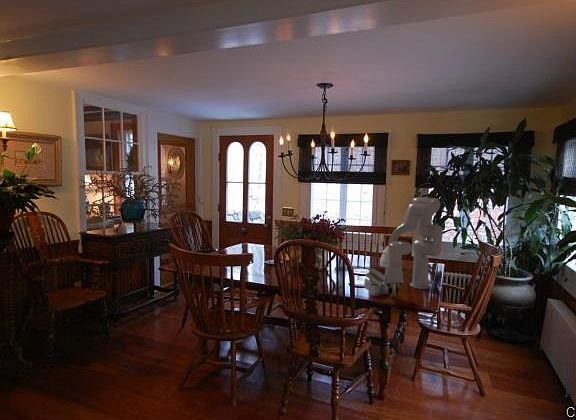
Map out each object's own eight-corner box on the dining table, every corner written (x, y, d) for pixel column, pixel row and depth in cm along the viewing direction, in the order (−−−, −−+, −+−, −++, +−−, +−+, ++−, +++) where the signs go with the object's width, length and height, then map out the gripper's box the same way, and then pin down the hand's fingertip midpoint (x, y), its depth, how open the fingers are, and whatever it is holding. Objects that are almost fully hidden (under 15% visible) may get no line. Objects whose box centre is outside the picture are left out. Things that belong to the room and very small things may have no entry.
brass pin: (393, 295, 226) (394, 279, 225) (396, 297, 223) (397, 281, 222) (389, 295, 225) (390, 279, 224) (391, 297, 222) (392, 281, 221)
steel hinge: (383, 286, 245) (384, 277, 245) (396, 294, 229) (397, 285, 229) (360, 287, 242) (360, 278, 241) (371, 296, 226) (372, 286, 225)
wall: (383, 287, 257) (368, 271, 261) (392, 280, 253) (376, 263, 256) (375, 297, 244) (359, 280, 248) (384, 289, 239) (367, 272, 243)
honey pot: (381, 263, 310) (383, 241, 308) (397, 265, 304) (398, 243, 303) (378, 266, 299) (379, 244, 297) (394, 268, 293) (395, 246, 291)
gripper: (403, 261, 227) (402, 290, 229) (379, 262, 223) (377, 292, 225) (410, 264, 220) (408, 294, 222) (385, 265, 216) (383, 296, 218)
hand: (393, 293), depth 224 cm, fingers closed on brass pin, 3 cm apart
